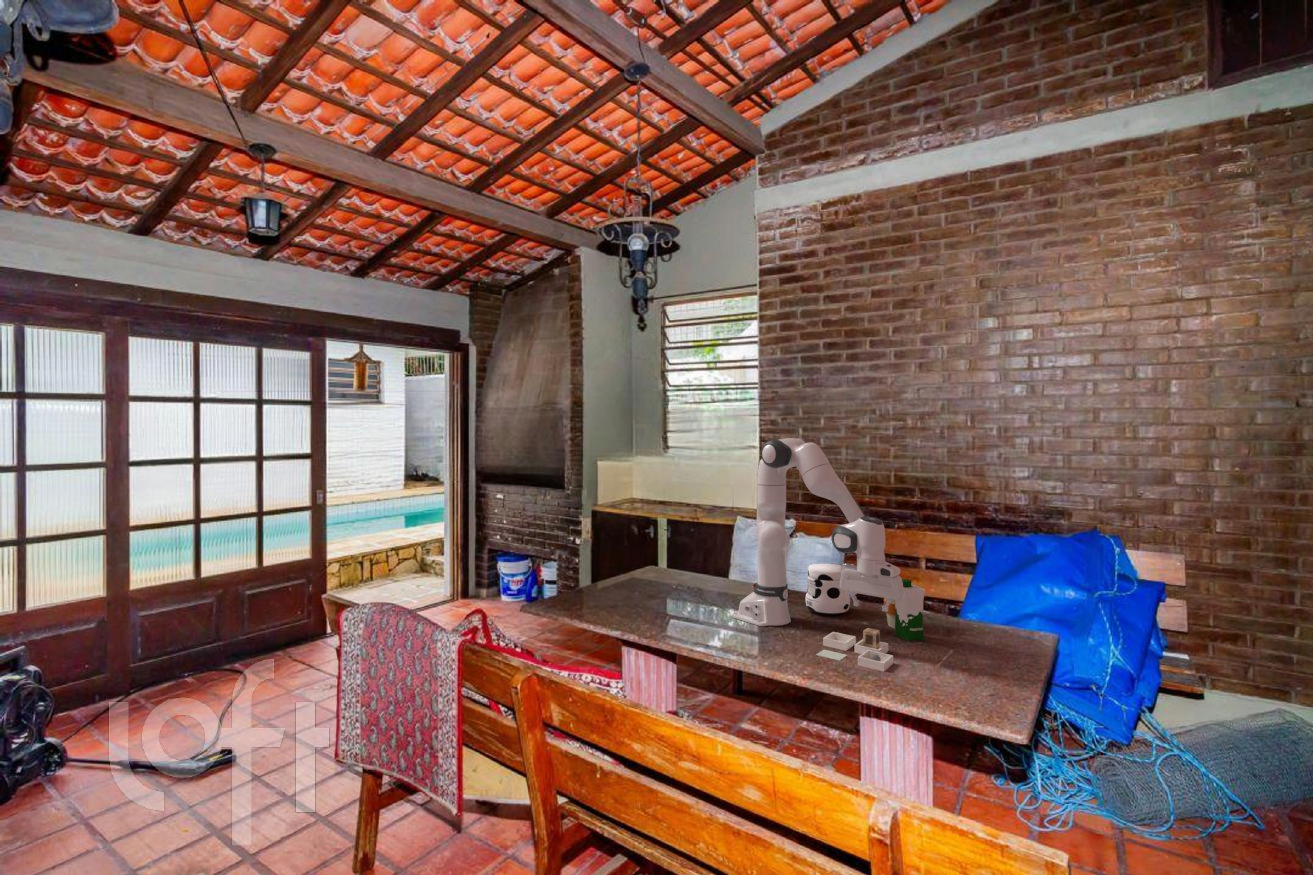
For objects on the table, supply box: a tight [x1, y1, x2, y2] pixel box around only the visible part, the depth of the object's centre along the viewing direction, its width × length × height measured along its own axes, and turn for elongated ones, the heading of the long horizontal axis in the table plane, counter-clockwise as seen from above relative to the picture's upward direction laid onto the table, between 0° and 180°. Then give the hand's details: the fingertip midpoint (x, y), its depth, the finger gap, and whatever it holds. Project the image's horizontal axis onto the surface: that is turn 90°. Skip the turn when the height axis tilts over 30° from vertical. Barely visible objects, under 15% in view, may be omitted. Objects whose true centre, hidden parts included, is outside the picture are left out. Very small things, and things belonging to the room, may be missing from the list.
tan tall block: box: [862, 627, 881, 649], centre depth 205 cm, size 4×4×7 cm
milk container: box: [805, 563, 851, 616], centre depth 252 cm, size 17×17×18 cm
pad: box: [815, 649, 848, 661], centre depth 202 cm, size 8×6×1 cm
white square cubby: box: [854, 638, 889, 655], centre depth 205 cm, size 8×8×3 cm
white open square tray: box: [822, 631, 857, 651], centre depth 212 cm, size 8×8×3 cm
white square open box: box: [857, 650, 894, 672], centre depth 194 cm, size 8×8×3 cm
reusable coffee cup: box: [883, 583, 917, 629], centre depth 233 cm, size 13×13×15 cm
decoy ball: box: [870, 654, 881, 661], centre depth 194 cm, size 3×3×3 cm
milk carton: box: [894, 578, 926, 642], centre depth 219 cm, size 9×9×20 cm
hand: (870, 608), depth 205 cm, fingers open, 8 cm apart
